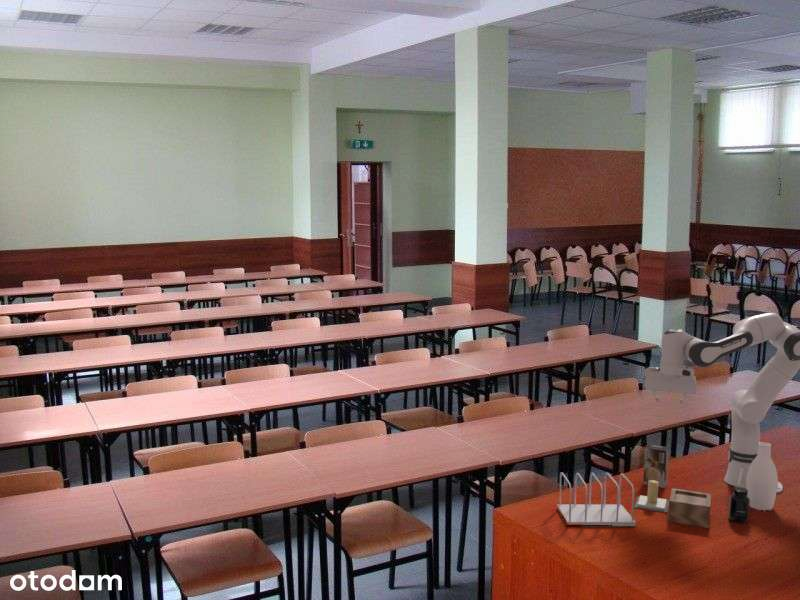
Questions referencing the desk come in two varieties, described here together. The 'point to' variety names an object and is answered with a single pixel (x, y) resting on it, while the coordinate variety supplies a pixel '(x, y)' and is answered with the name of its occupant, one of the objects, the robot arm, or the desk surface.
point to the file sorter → (597, 507)
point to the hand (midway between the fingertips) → (669, 402)
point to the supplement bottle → (739, 505)
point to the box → (689, 508)
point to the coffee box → (655, 464)
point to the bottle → (762, 479)
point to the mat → (652, 509)
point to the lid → (652, 498)
